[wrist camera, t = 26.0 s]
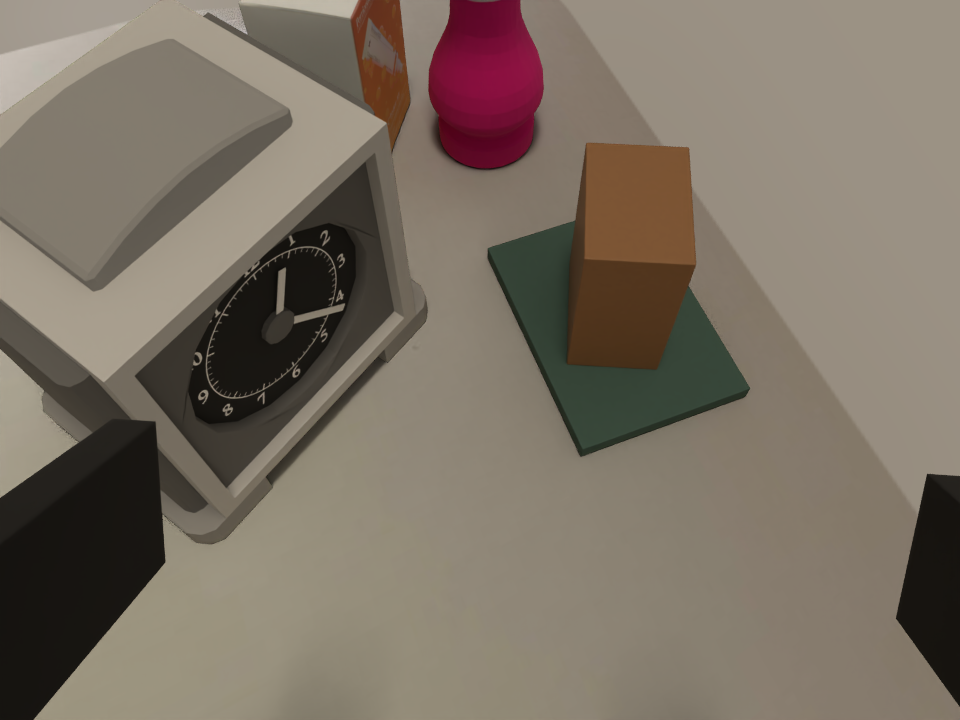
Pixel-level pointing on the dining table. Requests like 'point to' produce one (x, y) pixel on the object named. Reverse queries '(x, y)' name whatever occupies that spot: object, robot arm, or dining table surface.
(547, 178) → the dining table surface
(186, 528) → the alarm clock
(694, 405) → the mat
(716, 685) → the dining table surface
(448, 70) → the pepper mill
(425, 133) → the dining table surface
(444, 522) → the dining table surface
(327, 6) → the small box
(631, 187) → the brown packet
